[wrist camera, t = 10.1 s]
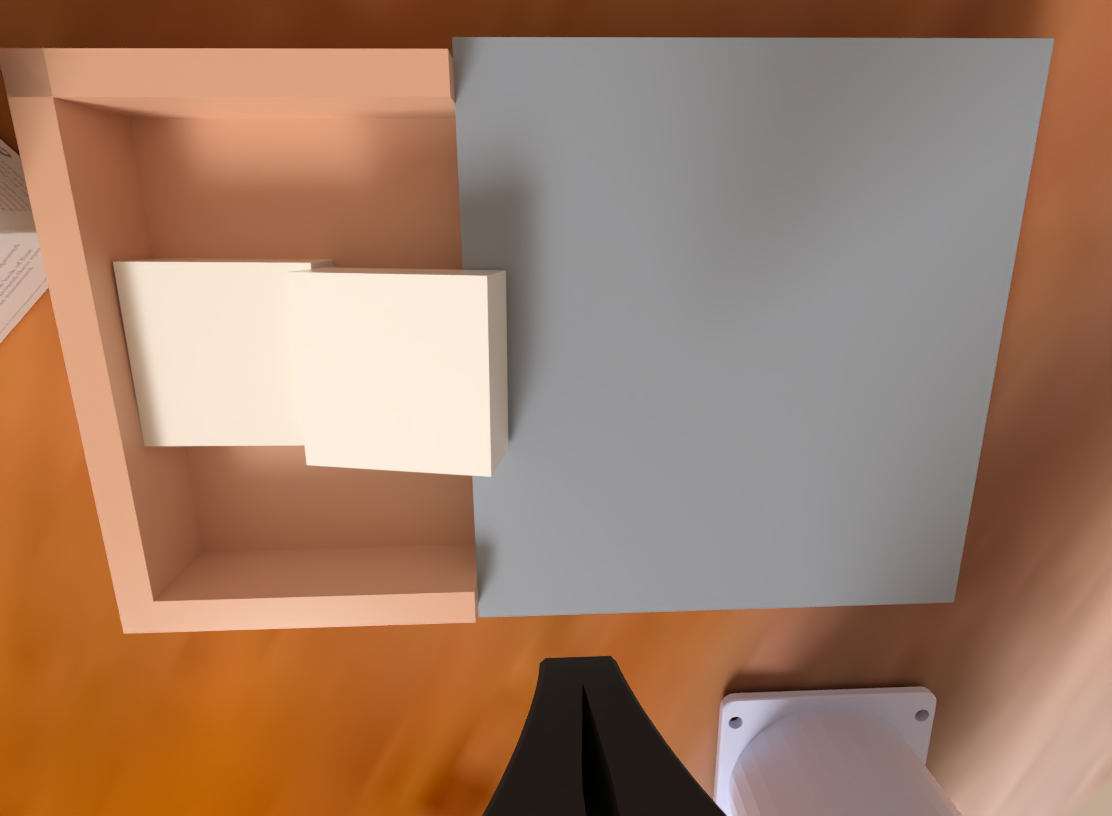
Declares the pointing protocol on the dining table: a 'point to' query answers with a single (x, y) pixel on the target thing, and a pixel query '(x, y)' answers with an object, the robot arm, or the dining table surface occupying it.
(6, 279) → the small box
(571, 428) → the board
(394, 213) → the tray
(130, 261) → the tile
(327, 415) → the tile
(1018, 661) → the dining table surface
